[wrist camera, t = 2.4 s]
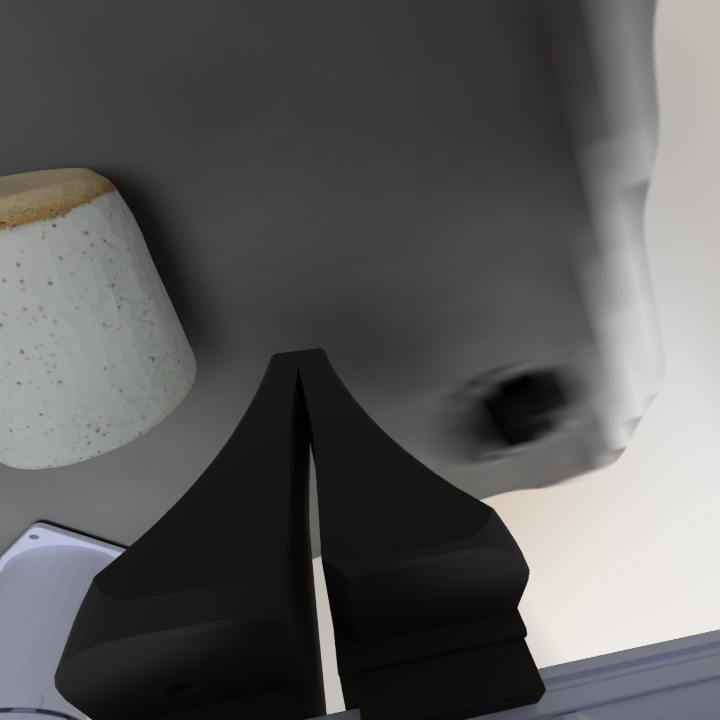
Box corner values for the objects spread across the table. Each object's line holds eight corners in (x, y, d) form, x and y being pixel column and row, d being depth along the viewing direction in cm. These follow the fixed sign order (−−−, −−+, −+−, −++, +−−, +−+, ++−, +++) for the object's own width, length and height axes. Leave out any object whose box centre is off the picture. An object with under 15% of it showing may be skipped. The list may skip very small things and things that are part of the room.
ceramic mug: (137, 145, 15) (36, 204, 9) (211, 332, 20) (179, 454, 14) (-166, 192, 15) (-491, 289, 9) (-15, 373, 20) (-153, 518, 13)
